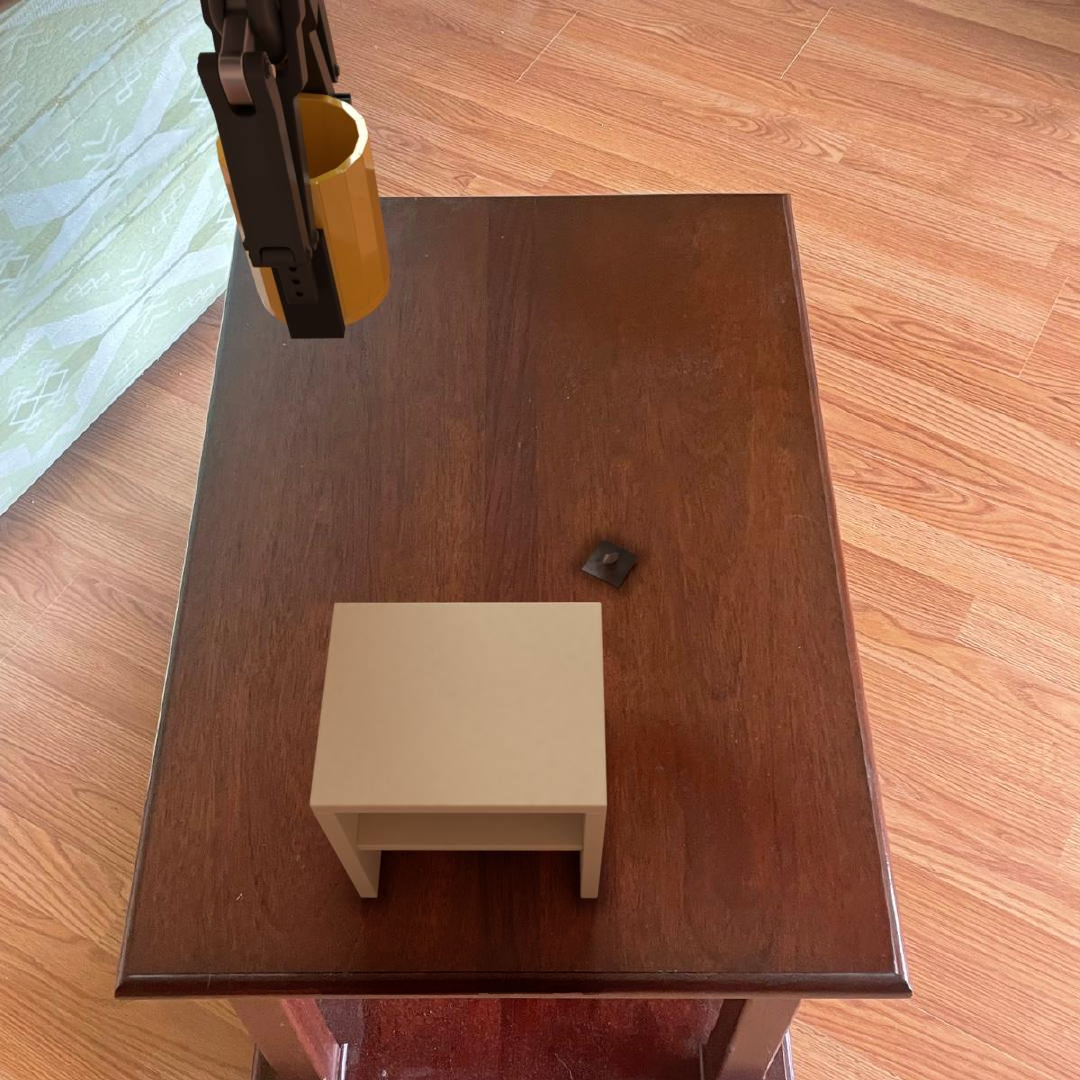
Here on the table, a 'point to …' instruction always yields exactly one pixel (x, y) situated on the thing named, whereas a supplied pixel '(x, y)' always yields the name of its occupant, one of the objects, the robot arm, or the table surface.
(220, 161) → the cup
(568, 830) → the shelf
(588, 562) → the dark square tile
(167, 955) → the table surface
